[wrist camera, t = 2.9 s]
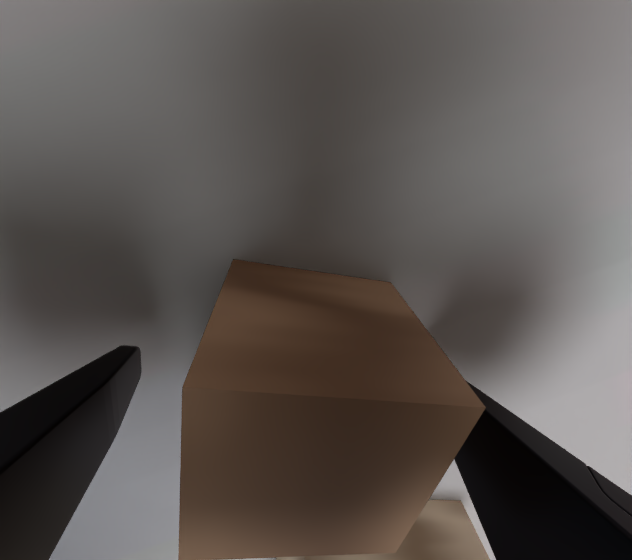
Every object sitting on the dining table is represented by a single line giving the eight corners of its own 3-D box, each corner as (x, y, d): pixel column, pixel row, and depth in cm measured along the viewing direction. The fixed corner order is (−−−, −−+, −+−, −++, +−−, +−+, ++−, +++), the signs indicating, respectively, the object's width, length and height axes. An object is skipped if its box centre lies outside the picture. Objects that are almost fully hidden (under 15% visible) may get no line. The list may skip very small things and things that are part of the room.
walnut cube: (221, 383, 11) (178, 560, 6) (233, 258, 9) (182, 387, 4) (351, 393, 12) (395, 553, 7) (390, 281, 10) (485, 407, 5)
